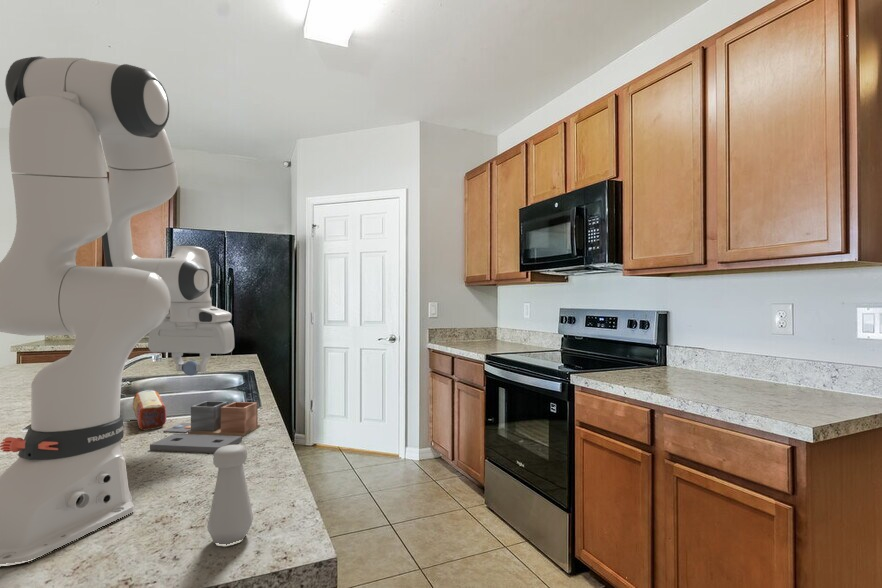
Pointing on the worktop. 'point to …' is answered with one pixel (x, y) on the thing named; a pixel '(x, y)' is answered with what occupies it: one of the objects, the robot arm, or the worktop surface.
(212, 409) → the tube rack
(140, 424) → the snack package
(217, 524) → the salt shaker
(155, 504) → the worktop surface
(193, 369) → the ball blue
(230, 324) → the robot arm
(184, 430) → the card
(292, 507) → the worktop surface
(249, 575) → the worktop surface
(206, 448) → the grey flat slab
